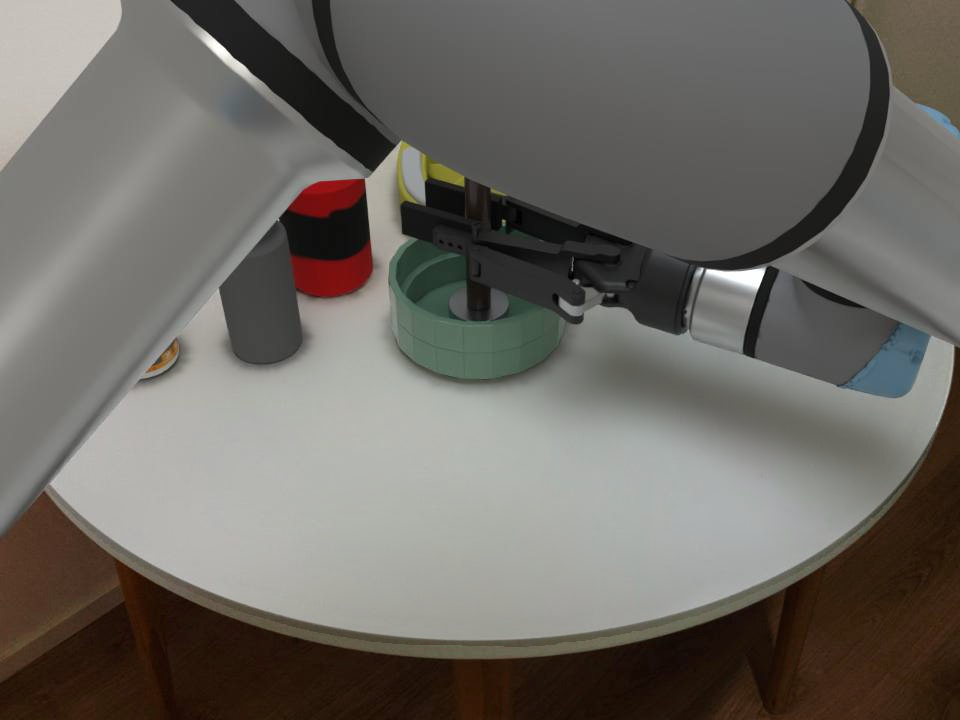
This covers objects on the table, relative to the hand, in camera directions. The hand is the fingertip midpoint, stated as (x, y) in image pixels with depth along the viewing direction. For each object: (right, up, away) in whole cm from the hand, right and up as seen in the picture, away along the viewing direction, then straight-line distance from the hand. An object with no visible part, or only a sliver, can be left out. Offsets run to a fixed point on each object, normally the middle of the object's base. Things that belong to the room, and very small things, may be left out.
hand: (416, 205), depth 83 cm
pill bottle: (-22, -12, +2) cm, 25 cm away
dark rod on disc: (+5, -9, +5) cm, 11 cm away
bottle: (-13, -11, +4) cm, 17 cm away
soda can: (-8, -5, +11) cm, 14 cm away
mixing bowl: (+5, -9, +5) cm, 12 cm away
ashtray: (+5, +4, +20) cm, 21 cm away
